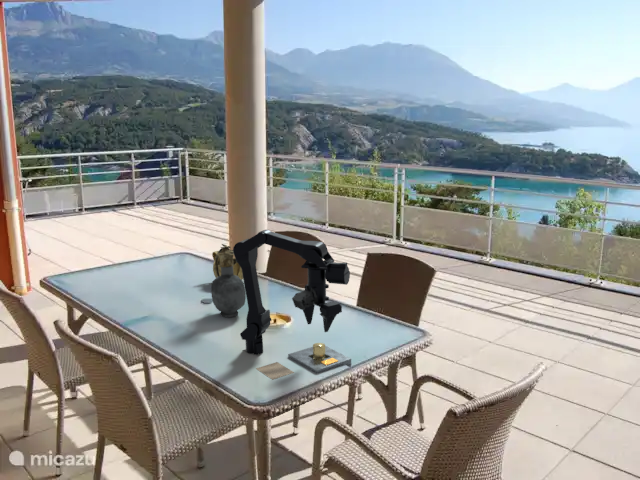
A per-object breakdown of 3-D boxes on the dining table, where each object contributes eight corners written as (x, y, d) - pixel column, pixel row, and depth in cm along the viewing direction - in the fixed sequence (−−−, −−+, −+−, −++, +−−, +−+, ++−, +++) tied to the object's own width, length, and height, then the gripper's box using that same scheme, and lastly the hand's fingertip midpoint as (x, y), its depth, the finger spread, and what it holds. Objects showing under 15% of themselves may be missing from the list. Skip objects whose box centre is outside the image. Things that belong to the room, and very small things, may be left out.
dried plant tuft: (203, 282, 275) (201, 253, 272) (229, 275, 288) (227, 247, 285) (232, 290, 261) (231, 260, 258) (258, 282, 274) (257, 253, 271)
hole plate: (288, 359, 182) (288, 353, 181) (321, 349, 190) (321, 343, 190) (316, 376, 169) (316, 369, 169) (351, 364, 177) (351, 358, 177)
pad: (255, 371, 173) (255, 368, 173) (277, 364, 178) (277, 361, 178) (272, 382, 166) (272, 379, 165) (294, 375, 170) (294, 372, 170)
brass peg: (310, 361, 180) (310, 344, 179) (320, 358, 182) (320, 341, 181) (318, 365, 177) (317, 348, 176) (327, 362, 179) (327, 345, 178)
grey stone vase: (225, 322, 218) (221, 249, 212) (206, 309, 233) (202, 241, 227) (249, 316, 224) (246, 245, 218) (229, 305, 239) (226, 238, 233)
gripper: (279, 279, 177) (281, 325, 180) (313, 293, 162) (314, 342, 165) (307, 274, 183) (308, 318, 186) (342, 286, 169) (343, 334, 172)
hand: (317, 327), depth 177 cm, fingers open, 9 cm apart
